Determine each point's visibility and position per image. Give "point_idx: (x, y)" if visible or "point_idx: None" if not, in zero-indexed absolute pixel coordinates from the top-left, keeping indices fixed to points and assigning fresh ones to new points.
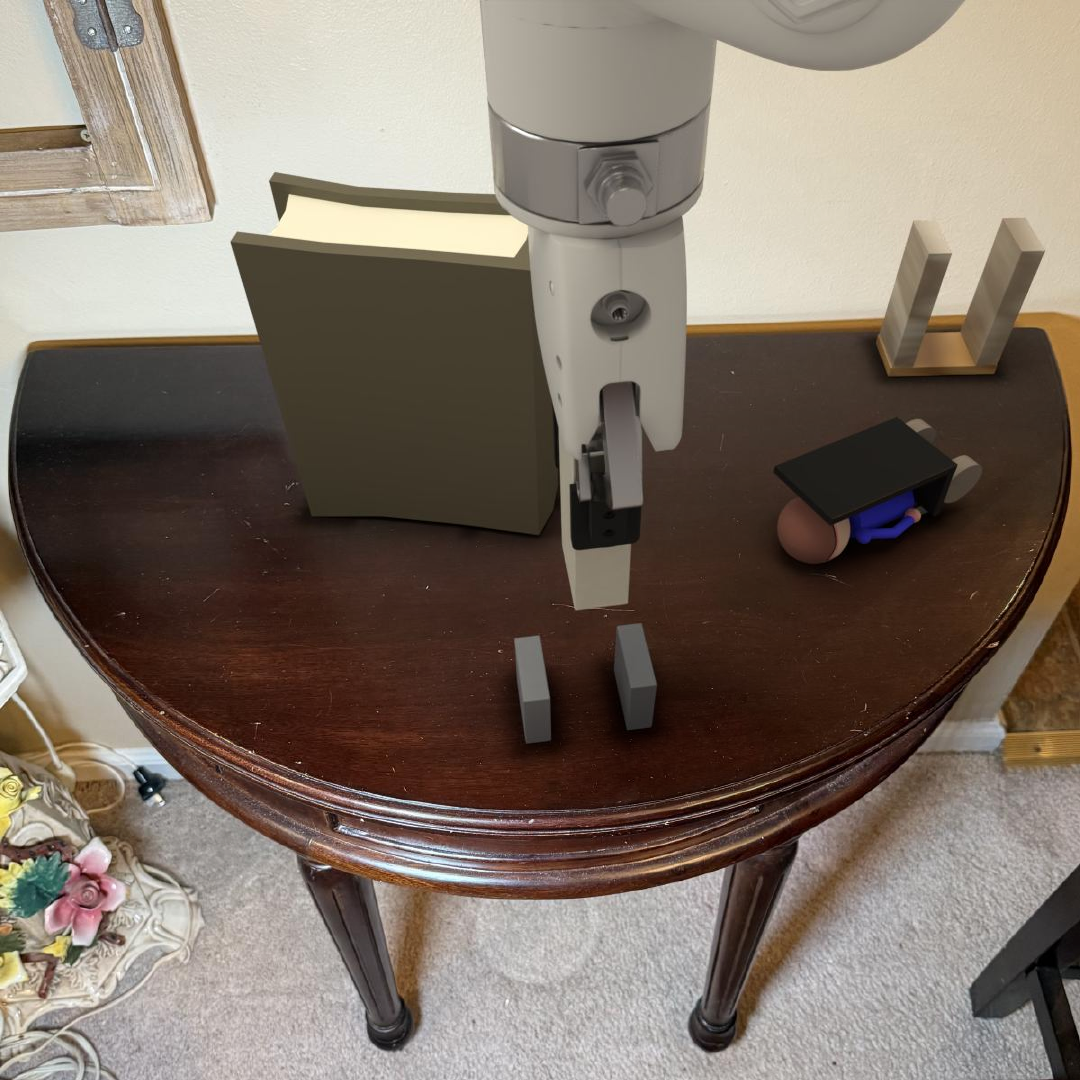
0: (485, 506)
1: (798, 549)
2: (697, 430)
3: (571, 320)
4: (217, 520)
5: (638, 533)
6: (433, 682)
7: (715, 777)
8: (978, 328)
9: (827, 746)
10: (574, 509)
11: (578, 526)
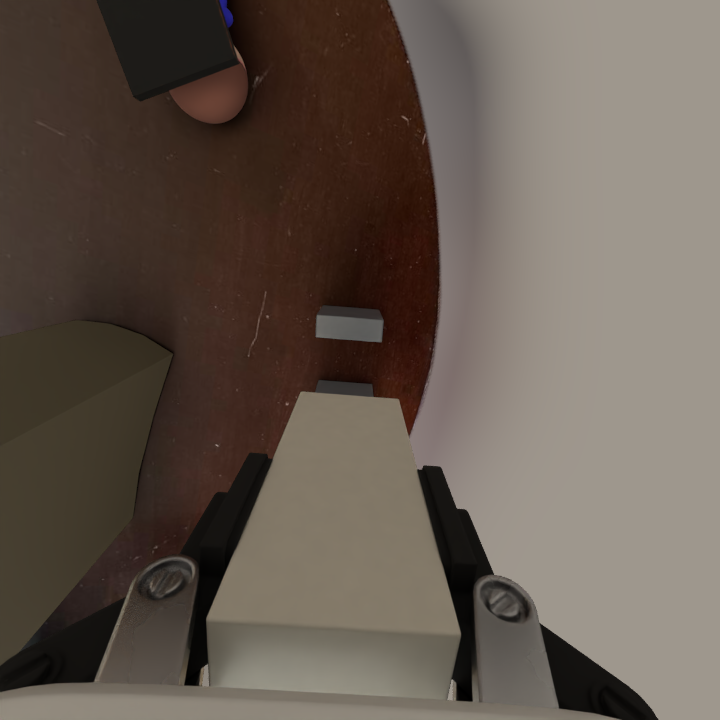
0: (145, 405)
1: (235, 109)
2: (30, 151)
3: None
4: (131, 576)
5: (442, 474)
6: None
7: (431, 274)
8: None
9: (431, 171)
10: None
11: None
